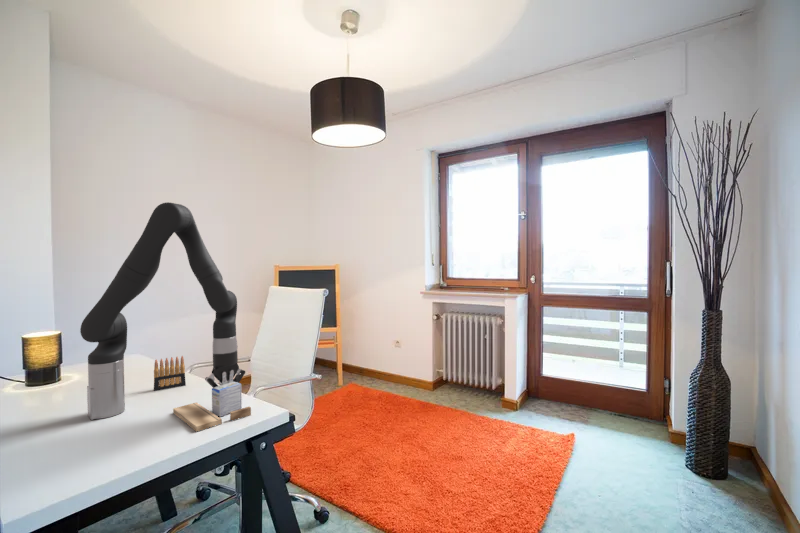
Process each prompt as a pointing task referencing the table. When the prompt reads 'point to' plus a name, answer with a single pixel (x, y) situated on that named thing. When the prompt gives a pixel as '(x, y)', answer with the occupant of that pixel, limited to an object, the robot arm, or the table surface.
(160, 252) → the robot arm
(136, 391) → the table surface
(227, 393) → the medicine box
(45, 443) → the table surface
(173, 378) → the ammunition clip
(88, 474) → the table surface
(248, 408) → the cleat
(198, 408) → the board
